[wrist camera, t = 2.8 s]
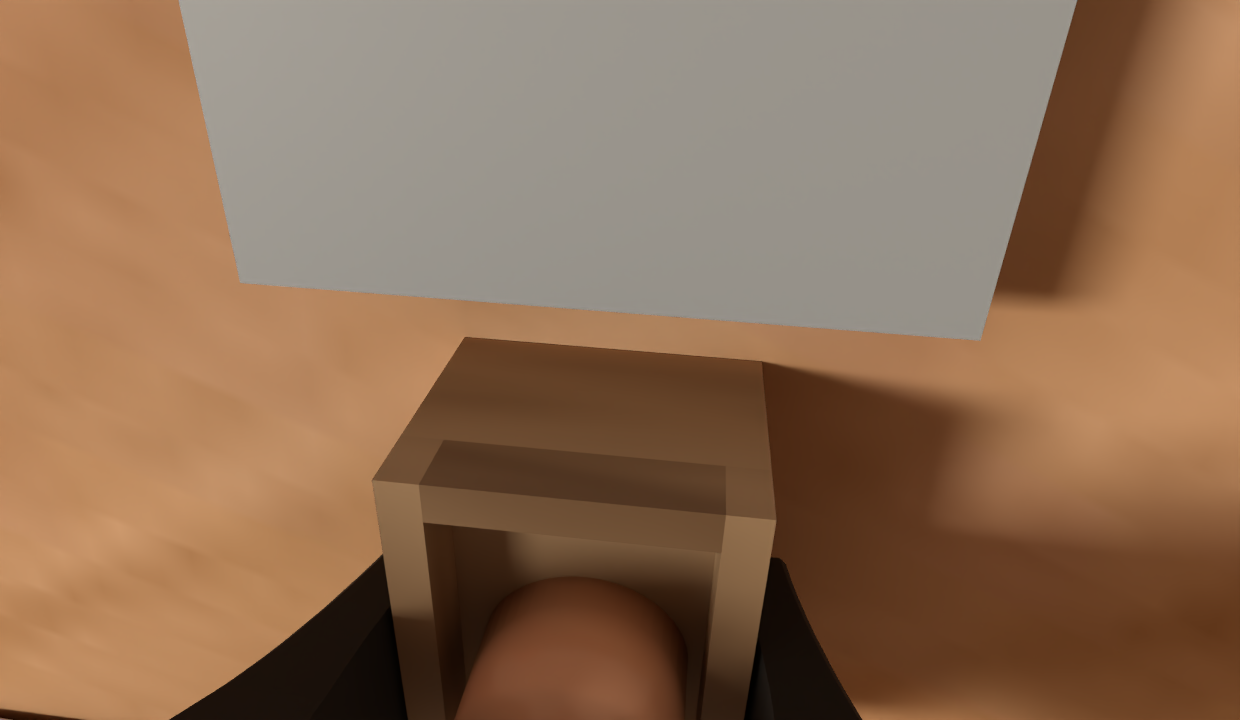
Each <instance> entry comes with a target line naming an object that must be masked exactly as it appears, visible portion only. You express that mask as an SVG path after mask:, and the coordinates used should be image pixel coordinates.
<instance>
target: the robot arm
mask: <svg viewBox="0 0 1240 720" xmlns="http://www.w3.org/2000/svg"><path fill="white" fill-rule="evenodd" d="M0 720H11V719H3V718H0ZM170 720H408V717H407V710H406V703H405V697H404V690H403V683H402V677H401V670H400V663H399V657H398V650H397V644H396V637H395V630H394V624H393V617H392V610H391V604H390V597H389V590H388V584H387V577H386V570H385V564H384V557H383V554H382V555H381V556H380V557H379V558H378V559H377V560H376V561H375V562H374V563H373V564H372V565H371V566H370V567H369V568H368V569H366V570H365V571H364V572H363V573H362V574H361V575H360V576H359V577H358V578H357V579H356V580H355V581H354V582H352V583H351V584H350V585H349V586H348V587H347V588H346V589H345V590H344V591H343V592H341V593H340V594H339V595H338V596H337V597H336V598H335V599H334V600H333V601H332V602H330V603H329V604H328V605H327V606H326V607H325V608H324V609H322V610H321V611H320V612H319V613H318V614H316V615H315V616H314V617H313V618H312V619H310V620H309V621H308V622H307V623H306V624H304V625H303V626H302V627H301V628H300V629H298V630H297V631H296V632H295V633H294V634H292V635H291V636H290V637H289V638H288V639H286V640H285V641H284V642H283V643H281V644H280V645H279V646H277V647H276V648H275V649H273V650H272V651H271V652H270V653H268V654H267V655H266V656H264V657H263V658H262V659H260V660H259V661H258V662H256V663H255V664H253V665H252V666H251V667H249V668H248V669H246V670H245V671H244V672H242V673H241V674H239V675H238V676H237V677H235V678H234V679H232V680H231V681H230V682H228V683H227V684H225V685H224V686H222V687H220V688H219V689H217V690H216V691H214V692H213V693H211V694H210V695H208V696H206V697H205V698H203V699H202V700H200V701H198V702H197V703H195V704H194V705H192V706H190V707H189V708H187V709H186V710H184V711H182V712H181V713H179V714H178V715H176V716H174V717H173V718H171V719H170ZM744 720H862V718H861V717H860V715H859V714H858V712H857V710H856V709H855V707H854V705H853V704H852V702H851V700H850V699H849V697H848V695H847V694H846V692H845V690H844V688H843V687H842V685H841V683H840V681H839V680H838V678H837V676H836V674H835V672H834V671H833V669H832V667H831V665H830V663H829V661H828V659H827V657H826V655H825V653H824V652H823V650H822V648H821V646H820V644H819V642H818V640H817V638H816V636H815V634H814V632H813V630H812V628H811V626H810V624H809V621H808V619H807V617H806V615H805V613H804V610H803V608H802V606H801V604H800V601H799V599H798V596H797V594H796V592H795V589H794V587H793V584H792V581H791V578H790V576H789V573H788V570H787V567H786V564H785V563H784V562H783V561H782V560H781V559H780V558H772V557H770V564H769V570H768V576H767V582H766V588H765V594H764V600H763V606H762V612H761V618H760V624H759V630H758V637H757V643H756V649H755V655H754V661H753V667H752V673H751V679H750V685H749V691H748V697H747V703H746V710H745V716H744Z"/></svg>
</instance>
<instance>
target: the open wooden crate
mask: <svg viewBox="0 0 1240 720" xmlns="http://www.w3.org/2000/svg"><path fill="white" fill-rule="evenodd" d="M372 484H373V491H374V497H375V504H376V511H377V517H378V524H379V530H380V537H381V544H382V550H383V557H384V564H385V570H386V577H387V584H388V590H389V597H390V604H391V610H392V617H393V624H394V630H395V637H396V644H397V650H398V657H399V663H400V670H401V677H402V683H403V690H404V697H405V703H406V710H407V717H408V720H454V719H455V716H456V713H457V710H458V707H459V704H460V702H461V699H462V696H463V693H464V690H465V687H466V684H467V681H468V679H469V676H470V673H471V670H472V667H473V664H474V661H475V658H476V656H477V653H478V650H479V647H480V644H481V641H482V638H483V635H484V633H485V630H486V627H487V624H488V621H489V619H490V617H491V615H492V613H493V611H494V610H495V608H496V607H497V606H498V604H499V603H500V602H501V601H502V600H503V599H504V598H505V597H507V596H508V595H509V594H511V593H512V592H514V591H515V590H517V589H519V588H521V587H523V586H525V585H527V584H530V583H533V582H536V581H539V580H544V579H548V578H555V577H576V576H577V577H588V578H595V579H600V580H606V581H609V582H612V583H616V584H619V585H622V586H624V587H627V588H629V589H632V590H634V591H635V592H637V593H639V594H641V595H643V596H645V597H646V598H648V599H649V600H651V601H652V602H654V603H655V604H656V605H658V606H659V607H660V608H661V609H662V610H663V611H665V613H666V614H667V615H668V616H669V617H670V618H671V619H672V620H673V622H674V623H675V624H676V626H677V627H678V629H679V630H680V632H681V634H682V637H683V639H684V641H685V645H686V648H687V655H688V666H687V686H686V706H685V720H744V716H745V710H746V703H747V697H748V691H749V685H750V679H751V673H752V667H753V661H754V655H755V649H756V643H757V637H758V630H759V624H760V618H761V612H762V606H763V600H764V594H765V588H766V582H767V576H768V570H769V564H770V557H771V551H772V545H773V539H774V533H775V527H776V521H777V519H776V509H775V498H774V487H773V477H772V466H771V456H770V445H769V435H768V424H767V413H766V403H765V392H764V382H763V371H762V362H761V361H748V360H736V359H724V358H712V357H700V356H687V355H675V354H663V353H651V352H639V351H626V350H614V349H602V348H590V347H578V346H566V345H553V344H541V343H529V342H517V341H505V340H492V339H480V338H468V337H465V338H464V339H463V341H462V342H461V344H460V345H459V347H458V348H457V350H456V351H455V353H454V355H453V356H452V358H451V359H450V361H449V362H448V364H447V365H446V367H445V368H444V370H443V371H442V373H441V375H440V376H439V378H438V379H437V381H436V382H435V384H434V385H433V387H432V388H431V390H430V392H429V393H428V395H427V396H426V398H425V399H424V401H423V402H422V404H421V405H420V407H419V408H418V410H417V412H416V413H415V415H414V416H413V418H412V419H411V421H410V422H409V424H408V425H407V427H406V428H405V430H404V432H403V433H402V435H401V436H400V438H399V439H398V441H397V442H396V444H395V445H394V447H393V448H392V450H391V452H390V453H389V455H388V456H387V458H386V459H385V461H384V462H383V464H382V465H381V467H380V468H379V470H378V472H377V473H376V475H375V476H374V478H373V479H372Z"/></svg>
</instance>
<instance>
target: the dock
mask: <svg viewBox="0 0 1240 720" xmlns="http://www.w3.org/2000/svg"><path fill="white" fill-rule="evenodd" d="M1076 3H1077V0H179V4H180V9H181V13H182V18H183V23H184V27H185V32H186V36H187V41H188V45H189V50H190V55H191V59H192V64H193V68H194V73H195V78H196V82H197V87H198V91H199V96H200V100H201V105H202V110H203V114H204V119H205V123H206V128H207V133H208V137H209V142H210V146H211V151H212V155H213V160H214V165H215V169H216V174H217V178H218V183H219V188H220V192H221V197H222V201H223V206H224V210H225V215H226V220H227V224H228V229H229V233H230V238H231V243H232V247H233V252H234V256H235V261H236V265H237V270H238V275H239V279H240V283H247V284H260V285H273V286H286V287H299V288H312V289H324V290H337V291H350V292H363V293H376V294H389V295H401V296H414V297H427V298H440V299H453V300H466V301H479V302H491V303H504V304H517V305H530V306H543V307H556V308H568V309H581V310H594V311H607V312H620V313H633V314H645V315H658V316H671V317H684V318H697V319H710V320H722V321H735V322H748V323H761V324H774V325H787V326H799V327H812V328H825V329H838V330H851V331H864V332H876V333H889V334H902V335H915V336H928V337H941V338H953V339H966V340H979V341H980V340H981V336H982V333H983V329H984V326H985V322H986V319H987V315H988V312H989V308H990V305H991V301H992V298H993V294H994V291H995V287H996V284H997V280H998V277H999V273H1000V270H1001V266H1002V263H1003V259H1004V256H1005V252H1006V249H1007V245H1008V241H1009V238H1010V234H1011V231H1012V227H1013V224H1014V220H1015V217H1016V213H1017V210H1018V206H1019V203H1020V199H1021V196H1022V192H1023V189H1024V185H1025V182H1026V178H1027V175H1028V171H1029V168H1030V164H1031V161H1032V157H1033V154H1034V150H1035V147H1036V143H1037V140H1038V136H1039V133H1040V129H1041V126H1042V122H1043V119H1044V115H1045V112H1046V108H1047V105H1048V101H1049V98H1050V94H1051V90H1052V87H1053V83H1054V80H1055V76H1056V73H1057V69H1058V66H1059V62H1060V59H1061V55H1062V52H1063V48H1064V45H1065V41H1066V38H1067V34H1068V31H1069V27H1070V24H1071V20H1072V17H1073V13H1074V10H1075V6H1076Z"/></svg>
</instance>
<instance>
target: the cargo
mask: <svg viewBox="0 0 1240 720" xmlns="http://www.w3.org/2000/svg"><path fill="white" fill-rule="evenodd" d="M687 666H688V655H687V648H686V645H685V641H684V639H683V637H682V634H681V632H680V630H679V629H678V627H677V626H676V624H675V623H674V622H673V620H672V619H671V618H670V617H669V616H668V615H667V614H666V613H665V611H663V610H662V609H661V608H660V607H659V606H658V605H656V604H655V603H654V602H652V601H651V600H649V599H648V598H646V597H645V596H643V595H641V594H639V593H637V592H635V591H634V590H632V589H629V588H627V587H624V586H622V585H619V584H616V583H612V582H609V581H606V580H600V579H595V578H588V577H577V576H576V577H555V578H548V579H544V580H539V581H536V582H533V583H530V584H527V585H525V586H523V587H521V588H519V589H517V590H515V591H514V592H512V593H511V594H509V595H508V596H507V597H505V598H504V599H503V600H502V601H501V602H500V603H499V604H498V606H497V607H496V608H495V610H494V611H493V613H492V615H491V617H490V619H489V621H488V624H487V627H486V630H485V633H484V635H483V638H482V641H481V644H480V647H479V650H478V653H477V656H476V658H475V661H474V664H473V667H472V670H471V673H470V676H469V679H468V681H467V684H466V687H465V690H464V693H463V696H462V699H461V702H460V704H459V707H458V710H457V713H456V716H455V719H454V720H685V706H686V686H687Z"/></svg>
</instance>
